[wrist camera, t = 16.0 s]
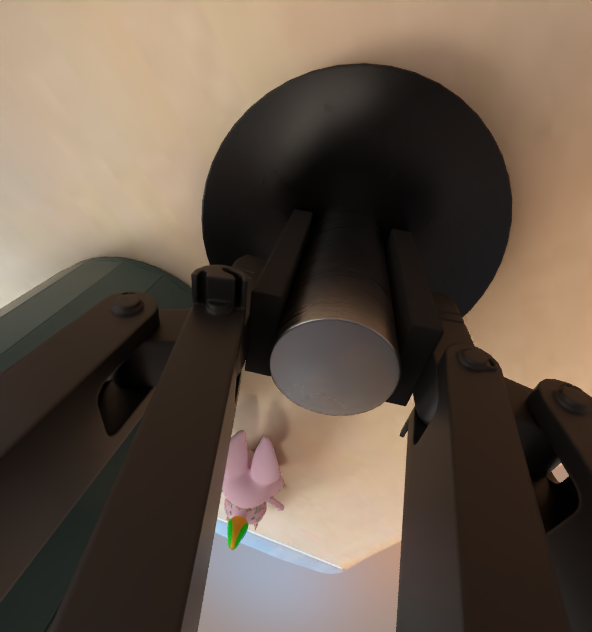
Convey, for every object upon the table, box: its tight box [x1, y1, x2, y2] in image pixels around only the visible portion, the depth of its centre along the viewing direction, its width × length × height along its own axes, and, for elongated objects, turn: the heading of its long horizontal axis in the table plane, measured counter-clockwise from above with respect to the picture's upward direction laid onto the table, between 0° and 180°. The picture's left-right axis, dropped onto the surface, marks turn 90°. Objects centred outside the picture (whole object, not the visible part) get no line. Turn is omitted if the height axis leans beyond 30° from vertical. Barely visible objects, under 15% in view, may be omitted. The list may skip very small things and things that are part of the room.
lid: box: [202, 63, 512, 416], centre depth 12 cm, size 13×13×9 cm
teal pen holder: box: [0, 257, 193, 632], centre depth 15 cm, size 12×12×14 cm
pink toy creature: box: [222, 430, 284, 550], centre depth 24 cm, size 6×6×15 cm
